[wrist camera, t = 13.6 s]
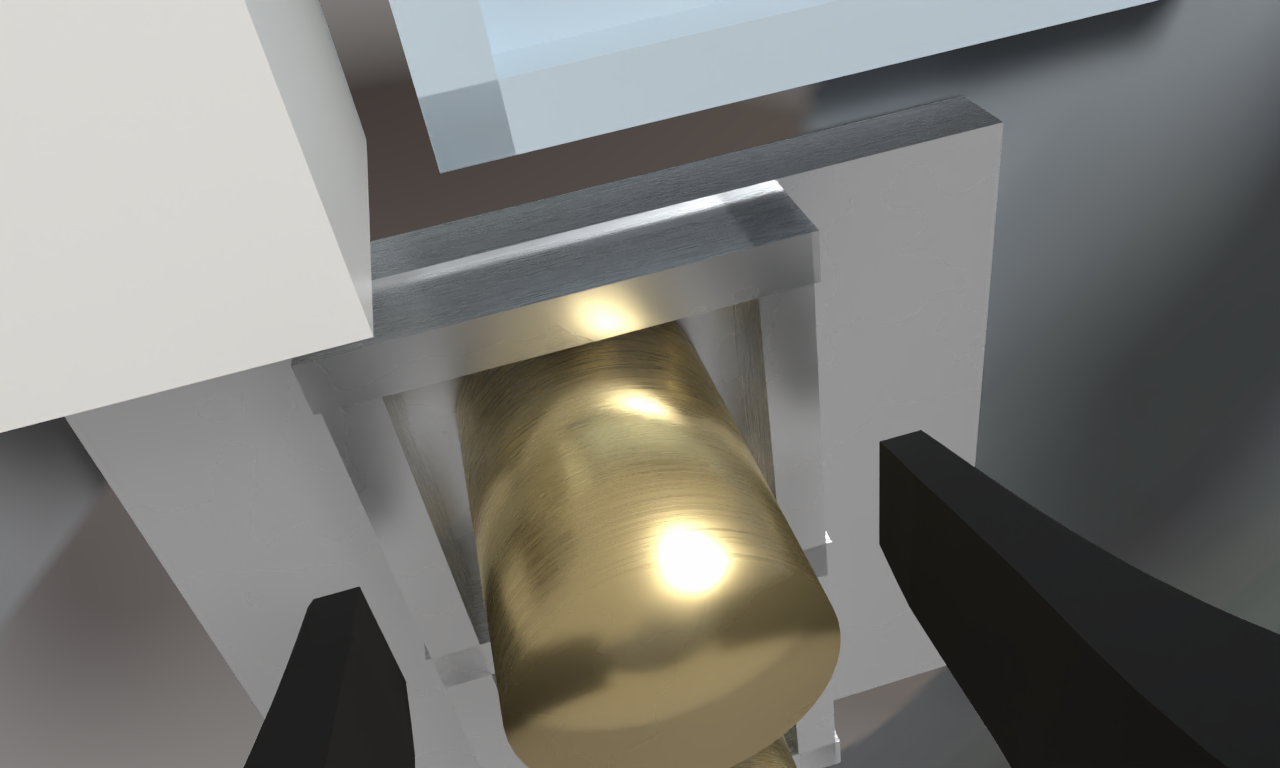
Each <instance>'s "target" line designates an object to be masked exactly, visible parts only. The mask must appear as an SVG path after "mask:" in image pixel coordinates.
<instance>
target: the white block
mask: <svg viewBox="0 0 1280 768" xmlns="http://www.w3.org/2000/svg"><path fill="white" fill-rule="evenodd" d="M372 337H374V335H373V307H372V280H371V252H370V225H369V197H368V170H367V143H366V137H365V134H364V131H363V128H362V125H361V122H360V119H359V116H358V113H357V110H356V107H355V105H354V102H353V99H352V95H351V93H350V90H349V87H348V84H347V81H346V78H345V75H344V72H343V69H342V66H341V63H340V60H339V57H338V54H337V51H336V48H335V45H334V42H333V39H332V36H331V33H330V31H329V28H328V25H327V22H326V19H325V16H324V13H323V10H322V7H321V4H320V1H319V0H0V433H2V432H6V431H9V430H13V429H17V428H21V427H25V426H29V425H33V424H37V423H41V422H45V421H48V420H52V419H56V418H60V417H64V416H68V415H72V414H76V413H80V412H84V411H87V410H91V409H95V408H99V407H103V406H107V405H111V404H115V403H119V402H122V401H126V400H130V399H134V398H138V397H142V396H146V395H150V394H154V393H158V392H161V391H165V390H169V389H173V388H177V387H181V386H185V385H189V384H193V383H197V382H200V381H204V380H208V379H212V378H216V377H220V376H224V375H228V374H232V373H235V372H239V371H243V370H247V369H251V368H255V367H259V366H263V365H267V364H271V363H274V362H278V361H282V360H286V359H290V358H294V357H298V356H302V355H306V354H310V353H313V352H317V351H321V350H325V349H329V348H333V347H337V346H341V345H345V344H348V343H352V342H356V341H360V340H364V339H368V338H372Z"/></svg>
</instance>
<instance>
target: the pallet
mask: <svg viewBox="0 0 1280 768" xmlns="http://www.w3.org/2000/svg"><path fill="white" fill-rule="evenodd" d="M1002 134H1003V122H1002V121H1001V120H999V119H998V118H996V117H995V116H993V115H992V114H990V113H989V112H987V111H986V110H984V109H983V108H981V107H980V106H978V105H977V104H975V103H973V102H972V101H970V100H969V99H967V98H966V97H964V96H959V97H955V98H951V99H947V100H942V101H938V102H934V103H930V104H926V105H922V106H918V107H914V108H910V109H906V110H902V111H898V112H894V113H890V114H886V115H882V116H878V117H873V118H869V119H865V120H861V121H857V122H853V123H849V124H845V125H841V126H837V127H833V128H829V129H825V130H821V131H817V132H813V133H809V134H804V135H800V136H796V137H792V138H788V139H784V140H780V141H776V142H772V143H769V144H764V145H760V146H756V147H752V148H748V149H744V150H740V151H736V152H732V153H727V154H724V155H719V156H715V157H711V158H707V159H703V160H699V161H695V162H691V163H687V164H683V165H679V166H675V167H671V168H667V169H662V170H659V171H655V172H651V173H646V174H642V175H638V176H634V177H630V178H626V179H622V180H618V181H614V182H610V183H606V184H602V185H598V186H593V187H590V188H585V189H582V190H577V191H573V192H569V193H565V194H561V195H557V196H553V197H549V198H545V199H541V200H537V201H533V202H529V203H524V204H521V205H516V206H512V207H508V208H505V209H500V210H496V211H492V212H488V213H484V214H480V215H476V216H472V217H468V218H464V219H460V220H455V221H451V222H447V223H443V224H439V225H436V226H431V227H427V228H423V229H419V230H415V231H411V232H407V233H403V234H399V235H395V236H391V237H386V238H382V239H378V240H374V241H370V252H371V280H372V307H373V335H374V337H372V338H368V339H364V340H360V341H356V342H352V343H348V344H345V345H341V346H337V347H333V348H329V349H325V350H321V351H317V352H313V353H310V354H306V355H302V356H298V357H294V358H290V359H286V360H282V361H278V362H274V363H271V364H267V365H263V366H259V367H255V368H251V369H247V370H243V371H239V372H235V373H232V374H228V375H224V376H220V377H216V378H212V379H208V380H204V381H200V382H197V383H193V384H189V385H185V386H181V387H177V388H173V389H169V390H165V391H161V392H158V393H154V394H150V395H146V396H142V397H138V398H134V399H130V400H126V401H122V402H119V403H115V404H111V405H107V406H103V407H99V408H95V409H91V410H87V411H84V412H80V413H76V414H72V415H68V416H64V417H65V418H66V420H67V421H68V423H69V424H70V426H71V428H72V429H73V431H74V432H75V434H76V435H77V437H78V438H79V440H80V441H81V443H82V444H83V446H84V447H85V449H86V450H87V452H88V453H89V455H90V456H91V458H92V459H93V461H94V462H95V464H96V465H97V467H98V468H99V470H100V471H101V473H102V474H103V476H104V478H105V479H106V481H107V482H108V484H109V485H110V487H111V488H112V490H113V491H114V493H115V494H116V496H117V497H118V499H119V500H120V502H121V503H122V505H123V506H124V508H125V509H126V511H127V512H128V514H129V515H130V517H131V518H132V520H133V521H134V523H135V524H136V526H137V528H138V529H139V531H140V532H141V533H142V535H143V536H144V538H145V540H146V541H147V543H148V544H149V546H150V547H151V549H152V550H153V552H154V553H155V555H156V556H157V558H158V559H159V561H160V562H161V564H162V565H163V567H164V568H165V570H166V571H167V573H168V574H169V576H170V578H171V579H172V581H173V582H174V583H175V585H176V587H177V588H178V590H179V591H180V593H181V594H182V596H183V597H184V599H185V600H186V602H187V603H188V605H189V606H190V608H191V609H192V611H193V612H194V614H195V615H196V617H197V618H198V620H199V621H200V623H201V624H202V626H203V628H204V629H205V630H206V632H207V634H208V635H209V637H210V638H211V640H212V641H213V643H214V644H215V646H216V647H217V649H218V650H219V652H220V653H221V655H222V656H223V658H224V659H225V661H226V662H227V664H228V665H229V667H230V668H231V670H232V671H233V673H234V674H235V676H236V678H237V679H238V681H239V682H240V683H241V685H242V686H243V688H244V689H245V691H246V693H247V694H248V696H249V697H250V699H251V700H252V702H253V703H254V705H255V706H256V708H257V709H258V711H259V712H260V714H261V715H262V717H263V718H264V720H265V718H266V715H267V713H268V711H269V708H270V706H271V704H272V701H273V699H274V697H275V694H276V691H277V689H278V686H279V684H280V681H281V679H282V676H283V674H284V671H285V669H286V666H287V663H288V661H289V658H290V655H291V653H292V650H293V647H294V645H295V642H296V639H297V636H298V634H299V631H300V628H301V625H302V622H303V619H304V617H305V614H306V611H307V608H308V606H309V605H310V603H311V602H312V600H313V599H316V598H320V597H323V596H327V595H330V594H334V593H338V592H341V591H345V590H348V589H352V588H355V587H359V586H360V588H361V590H362V592H363V594H364V596H365V598H366V600H367V602H368V604H369V607H370V609H371V611H372V613H373V615H374V617H375V619H376V621H377V623H378V625H379V627H380V629H381V631H382V633H383V635H384V637H385V639H386V641H387V643H388V645H389V648H390V650H391V652H392V654H393V656H394V658H395V660H396V662H397V664H398V666H399V668H400V670H401V672H402V674H403V676H404V678H405V680H406V686H407V693H408V701H409V709H410V716H411V724H412V733H413V742H414V751H415V768H529V767H528V766H526V765H525V764H524V763H523V762H522V761H521V760H520V759H519V757H518V756H517V755H516V754H515V753H514V751H513V749H512V748H511V746H510V744H509V743H508V740H507V737H506V734H505V731H504V728H503V721H502V715H501V708H500V702H499V695H498V689H497V682H496V676H495V669H494V663H493V656H492V650H491V643H490V637H489V630H488V624H487V617H486V611H485V604H484V598H483V591H482V585H481V578H480V572H479V565H478V559H477V552H476V546H475V539H474V533H473V526H472V520H471V513H470V507H469V500H468V494H467V487H466V481H465V474H464V468H463V461H462V455H461V448H460V442H459V435H458V428H457V419H456V410H457V400H458V395H459V390H460V387H461V384H462V382H463V379H464V377H465V375H469V374H473V373H476V372H480V371H484V370H488V369H492V368H495V367H499V366H503V365H507V364H511V363H514V362H518V361H522V360H526V359H530V358H533V357H537V356H541V355H545V354H549V353H552V352H556V351H560V350H564V349H568V348H571V347H575V346H579V345H583V344H587V343H590V342H594V341H598V340H602V339H606V338H609V337H613V336H617V335H621V334H625V333H628V332H632V331H636V330H640V329H644V328H647V327H651V326H655V325H659V324H663V323H666V322H670V321H673V322H674V323H676V324H677V325H678V326H679V327H680V328H681V329H682V330H683V332H684V333H685V334H686V335H687V336H688V338H689V339H690V341H691V342H692V344H693V345H694V347H695V349H696V351H697V352H698V354H699V356H700V358H701V360H702V362H703V364H704V366H705V367H706V369H707V371H708V373H709V375H710V377H711V379H712V381H713V382H714V384H715V386H716V388H717V390H718V392H719V394H720V396H721V398H722V399H723V401H724V403H725V405H726V407H727V409H728V411H729V413H730V415H731V416H732V418H733V420H734V422H735V424H736V426H737V428H738V430H739V431H740V433H741V435H742V437H743V439H744V441H745V443H746V445H747V446H748V448H749V450H750V452H751V454H752V456H753V458H754V460H755V462H756V463H757V465H758V467H759V469H760V471H761V473H762V475H763V477H764V478H765V480H766V482H767V484H768V486H769V488H770V490H771V492H772V494H773V495H774V497H775V499H776V501H777V503H778V505H779V507H780V509H781V510H782V512H783V514H784V516H785V518H786V520H787V522H788V524H789V526H790V527H791V529H792V531H793V533H794V535H795V537H796V539H797V541H798V542H799V544H800V546H801V548H802V550H803V552H804V554H805V556H806V558H807V559H808V561H809V563H810V565H811V567H812V569H813V571H814V573H815V574H816V576H817V578H818V580H819V582H820V584H821V586H822V588H823V590H824V591H825V593H826V595H827V597H828V599H829V601H830V603H831V605H832V606H833V609H834V611H835V613H836V616H837V618H838V621H839V627H840V633H841V643H840V652H839V657H838V662H837V665H836V667H835V670H834V673H833V675H832V678H831V679H830V681H829V683H828V685H827V687H826V688H825V690H824V692H823V693H822V695H821V696H820V697H819V699H818V700H817V701H816V703H815V704H814V706H813V707H812V708H811V709H810V710H809V711H808V712H807V713H806V714H805V715H804V717H803V718H802V719H801V720H800V721H799V722H797V723H796V724H795V725H794V726H793V727H792V728H791V729H790V730H789V731H788V732H786V733H785V734H784V738H785V740H786V742H787V745H788V747H789V750H790V752H791V755H792V757H793V759H794V762H795V764H796V767H797V768H825V767H828V766H831V765H834V764H837V763H840V762H841V755H840V740H839V738H838V736H837V734H836V732H835V724H834V703H833V701H834V700H836V699H840V698H843V697H846V696H850V695H853V694H856V693H859V692H863V691H865V690H869V689H872V688H876V687H879V686H882V685H885V684H888V683H892V682H895V681H898V680H901V679H905V678H908V677H911V676H914V675H917V674H921V673H924V672H927V671H930V670H934V669H937V668H940V667H943V666H946V664H945V662H944V661H943V659H942V658H941V656H940V654H939V653H938V651H937V650H936V648H935V647H934V645H933V644H932V642H931V640H930V639H929V637H928V636H927V634H926V633H925V631H924V629H923V628H922V626H921V625H920V623H919V622H918V620H917V618H916V617H915V615H914V614H913V612H912V610H911V609H910V607H909V605H908V603H907V601H906V599H905V597H904V595H903V593H902V591H901V589H900V587H899V585H898V583H897V581H896V579H895V577H894V575H893V573H892V570H891V568H890V566H889V564H888V562H887V560H886V558H885V556H884V553H883V551H882V549H881V547H880V545H879V442H880V441H883V440H887V439H890V438H894V437H897V436H901V435H905V434H908V433H912V432H915V431H919V430H922V431H923V432H925V433H927V434H928V435H930V436H931V437H932V438H934V439H935V440H937V441H938V442H940V443H941V444H943V445H944V446H945V447H947V448H948V449H950V450H951V451H953V452H954V453H955V454H957V455H958V456H960V457H961V458H962V459H964V460H965V461H967V462H968V463H970V464H971V465H972V466H974V467H975V460H976V448H977V436H978V424H979V411H980V399H981V387H982V375H983V363H984V351H985V339H986V327H987V315H988V303H989V291H990V279H991V267H992V254H993V242H994V230H995V218H996V206H997V194H998V182H999V170H1000V158H1001V146H1002Z"/></svg>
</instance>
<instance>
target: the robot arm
mask: <svg viewBox="0 0 1280 768" xmlns="http://www.w3.org/2000/svg"><path fill="white" fill-rule="evenodd" d="M879 545H880V547H881V549H882V551H883V553H884V556H885V558H886V560H887V562H888V564H889V566H890V568H891V570H892V573H893V575H894V577H895V579H896V581H897V583H898V585H899V587H900V589H901V591H902V593H903V595H904V597H905V599H906V601H907V603H908V605H909V607H910V609H911V610H912V612H913V614H914V615H915V617H916V618H917V620H918V622H919V623H920V625H921V626H922V628H923V629H924V631H925V633H926V634H927V636H928V637H929V639H930V640H931V642H932V644H933V645H934V647H935V648H936V650H937V651H938V653H939V654H940V656H941V658H942V659H943V661H944V662H945V664H946V665H947V667H948V668H949V670H950V671H951V673H952V674H953V676H954V678H955V679H956V681H957V682H958V684H959V685H960V687H961V688H962V690H963V691H964V693H965V695H966V696H967V698H968V699H969V701H970V702H971V704H972V705H973V707H974V708H975V710H976V711H977V713H978V715H979V716H980V718H981V719H982V721H983V722H984V724H985V725H986V727H987V728H988V730H989V731H990V733H991V735H992V736H993V738H994V739H995V741H996V742H997V744H998V746H999V747H1000V749H1001V751H1002V752H1003V754H1004V756H1005V758H1006V759H1007V761H1008V763H1009V764H1010V766H1011V768H1280V635H1279V634H1277V633H1275V632H1272V631H1270V630H1267V629H1265V628H1262V627H1260V626H1258V625H1255V624H1253V623H1250V622H1248V621H1246V620H1243V619H1241V618H1238V617H1236V616H1234V615H1231V614H1229V613H1227V612H1225V611H1223V610H1220V609H1218V608H1216V607H1214V606H1211V605H1209V604H1207V603H1205V602H1203V601H1201V600H1199V599H1197V598H1195V597H1193V596H1190V595H1188V594H1186V593H1184V592H1182V591H1180V590H1178V589H1176V588H1174V587H1172V586H1170V585H1168V584H1166V583H1164V582H1162V581H1160V580H1158V579H1156V578H1154V577H1152V576H1150V575H1148V574H1146V573H1144V572H1142V571H1140V570H1139V569H1137V568H1135V567H1133V566H1131V565H1129V564H1127V563H1126V562H1124V561H1122V560H1120V559H1119V558H1117V557H1115V556H1113V555H1112V554H1110V553H1108V552H1106V551H1105V550H1103V549H1101V548H1099V547H1098V546H1096V545H1094V544H1092V543H1091V542H1089V541H1087V540H1086V539H1084V538H1082V537H1081V536H1079V535H1077V534H1076V533H1074V532H1073V531H1071V530H1069V529H1068V528H1066V527H1064V526H1063V525H1061V524H1060V523H1058V522H1057V521H1055V520H1053V519H1052V518H1050V517H1049V516H1047V515H1046V514H1044V513H1042V512H1041V511H1039V510H1038V509H1036V508H1035V507H1033V506H1032V505H1030V504H1028V503H1027V502H1025V501H1024V500H1022V499H1021V498H1019V497H1018V496H1016V495H1015V494H1013V493H1012V492H1010V491H1009V490H1007V489H1006V488H1004V487H1003V486H1001V485H1000V484H999V483H997V482H996V481H994V480H993V479H991V478H990V477H988V476H987V475H985V474H984V473H983V472H981V471H980V470H978V469H977V468H975V467H974V466H972V465H971V464H970V463H968V462H967V461H965V460H964V459H962V458H961V457H960V456H958V455H957V454H955V453H954V452H953V451H951V450H950V449H948V448H947V447H945V446H944V445H943V444H941V443H940V442H938V441H937V440H935V439H934V438H932V437H931V436H930V435H928V434H927V433H925V432H923V431H922V430H919V431H915V432H912V433H908V434H905V435H901V436H897V437H894V438H890V439H887V440H883V441H880V442H879ZM244 768H415V751H414V742H413V733H412V724H411V716H410V709H409V701H408V693H407V686H406V680H405V678H404V676H403V674H402V672H401V670H400V668H399V666H398V664H397V662H396V660H395V658H394V656H393V654H392V652H391V650H390V648H389V645H388V643H387V641H386V639H385V637H384V635H383V633H382V631H381V629H380V627H379V625H378V623H377V621H376V619H375V617H374V615H373V613H372V611H371V609H370V607H369V604H368V602H367V600H366V598H365V596H364V594H363V592H362V590H361V588H360V586H359V587H355V588H352V589H348V590H345V591H341V592H338V593H334V594H330V595H327V596H323V597H320V598H316V599H313V600H312V602H311V603H310V605H309V606H308V608H307V611H306V614H305V617H304V619H303V622H302V625H301V628H300V631H299V634H298V636H297V639H296V642H295V645H294V647H293V650H292V653H291V655H290V658H289V661H288V663H287V666H286V669H285V671H284V674H283V676H282V679H281V681H280V684H279V686H278V689H277V691H276V694H275V697H274V699H273V701H272V704H271V706H270V708H269V711H268V713H267V715H266V718H265V720H264V723H263V725H262V727H261V730H260V732H259V734H258V737H257V739H256V741H255V743H254V746H253V748H252V750H251V753H250V755H249V757H248V759H247V762H246V764H245V766H244Z"/></svg>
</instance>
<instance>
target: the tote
mask: <svg viewBox="0 0 1280 768" xmlns="http://www.w3.org/2000/svg"><path fill="white" fill-rule="evenodd" d="M1153 1H1157V0H389V3H390V6H391V9H392V13H393V16H394V19H395V23H396V26H397V29H398V33H399V36H400V40H401V43H402V46H403V50H404V53H405V57H406V60H407V63H408V67H409V70H410V73H411V77H412V80H413V84H414V87H415V90H416V94H417V97H418V100H419V104H420V107H421V110H422V114H423V117H424V121H425V124H426V127H427V131H428V134H429V138H430V141H431V144H432V148H433V151H434V154H435V157H436V161H437V165H438V168H439V171H440V173H443V172H448V171H452V170H456V169H460V168H464V167H468V166H473V165H476V164H481V163H485V162H489V161H493V160H497V159H502V158H506V157H510V156H514V155H518V154H522V153H526V152H531V151H535V150H539V149H543V148H547V147H551V146H556V145H560V144H564V143H568V142H572V141H576V140H581V139H584V138H588V137H593V136H597V135H601V134H605V133H610V132H614V131H617V130H622V129H626V128H630V127H634V126H639V125H642V124H647V123H651V122H655V121H659V120H663V119H668V118H671V117H676V116H680V115H684V114H688V113H693V112H697V111H701V110H705V109H709V108H713V107H717V106H721V105H726V104H730V103H734V102H738V101H742V100H746V99H750V98H755V97H759V96H763V95H767V94H771V93H776V92H780V91H784V90H788V89H792V88H796V87H800V86H805V85H809V84H813V83H817V82H821V81H825V80H830V79H834V78H838V77H842V76H846V75H850V74H854V73H859V72H863V71H867V70H871V69H875V68H879V67H883V66H888V65H892V64H896V63H900V62H904V61H908V60H913V59H917V58H921V57H925V56H929V55H933V54H937V53H942V52H946V51H950V50H954V49H958V48H962V47H967V46H971V45H975V44H979V43H983V42H987V41H991V40H996V39H1000V38H1004V37H1008V36H1012V35H1016V34H1020V33H1025V32H1029V31H1033V30H1037V29H1041V28H1045V27H1050V26H1054V25H1058V24H1062V23H1066V22H1070V21H1074V20H1079V19H1083V18H1087V17H1091V16H1095V15H1099V14H1103V13H1108V12H1112V11H1116V10H1120V9H1124V8H1128V7H1133V6H1137V5H1141V4H1145V3H1149V2H1153Z"/></svg>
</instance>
